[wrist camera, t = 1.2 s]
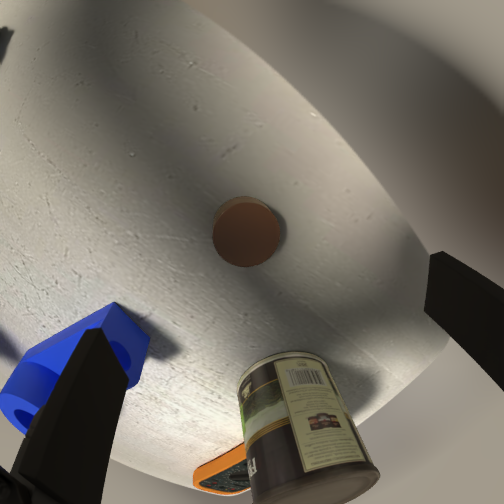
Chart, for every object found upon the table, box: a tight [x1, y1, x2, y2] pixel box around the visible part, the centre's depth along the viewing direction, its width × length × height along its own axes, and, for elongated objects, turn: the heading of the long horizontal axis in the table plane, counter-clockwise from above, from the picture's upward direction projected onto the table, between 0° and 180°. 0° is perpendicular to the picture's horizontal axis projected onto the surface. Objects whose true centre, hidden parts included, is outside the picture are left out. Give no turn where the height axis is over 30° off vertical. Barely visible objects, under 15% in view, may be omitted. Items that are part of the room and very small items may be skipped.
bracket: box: [0, 302, 150, 435], centre depth 21 cm, size 20×9×8 cm, turn 124°
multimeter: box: [193, 443, 251, 495], centre depth 32 cm, size 9×18×3 cm, turn 138°
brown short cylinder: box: [213, 196, 280, 267], centre depth 21 cm, size 5×5×2 cm
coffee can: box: [237, 352, 380, 504], centre depth 22 cm, size 10×10×14 cm
